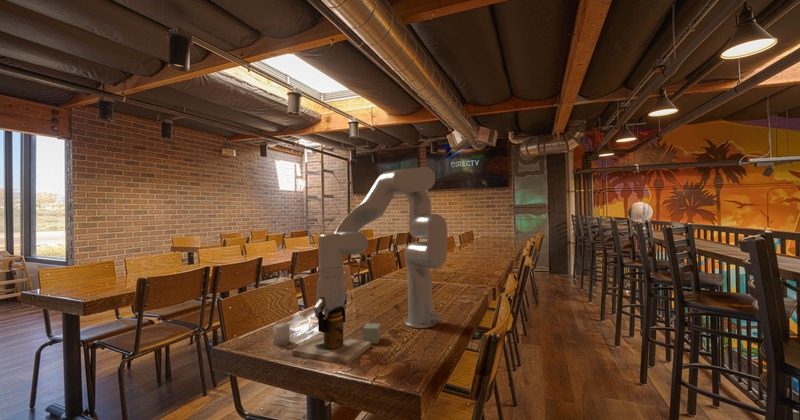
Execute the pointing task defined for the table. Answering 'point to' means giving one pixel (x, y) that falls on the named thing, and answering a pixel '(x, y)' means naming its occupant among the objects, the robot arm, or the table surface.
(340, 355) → the maple board
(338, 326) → the condiment
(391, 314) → the table surface
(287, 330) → the pale stubby cylinder
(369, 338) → the sage block
